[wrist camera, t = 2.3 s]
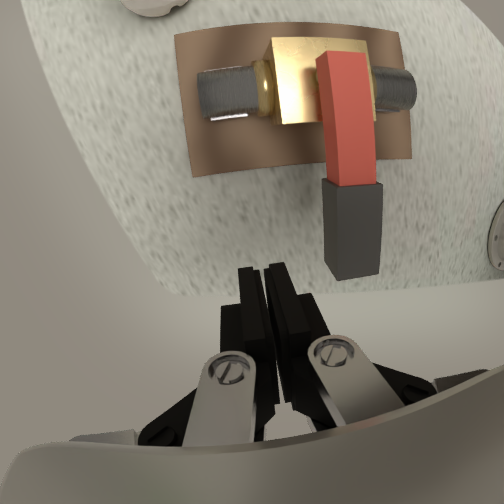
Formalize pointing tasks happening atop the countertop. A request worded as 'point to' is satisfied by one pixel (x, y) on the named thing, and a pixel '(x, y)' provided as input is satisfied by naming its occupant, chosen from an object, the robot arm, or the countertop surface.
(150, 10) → the water bottle
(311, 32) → the mounting board
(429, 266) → the countertop surface
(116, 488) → the robot arm
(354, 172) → the valve lever
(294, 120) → the ball valve
